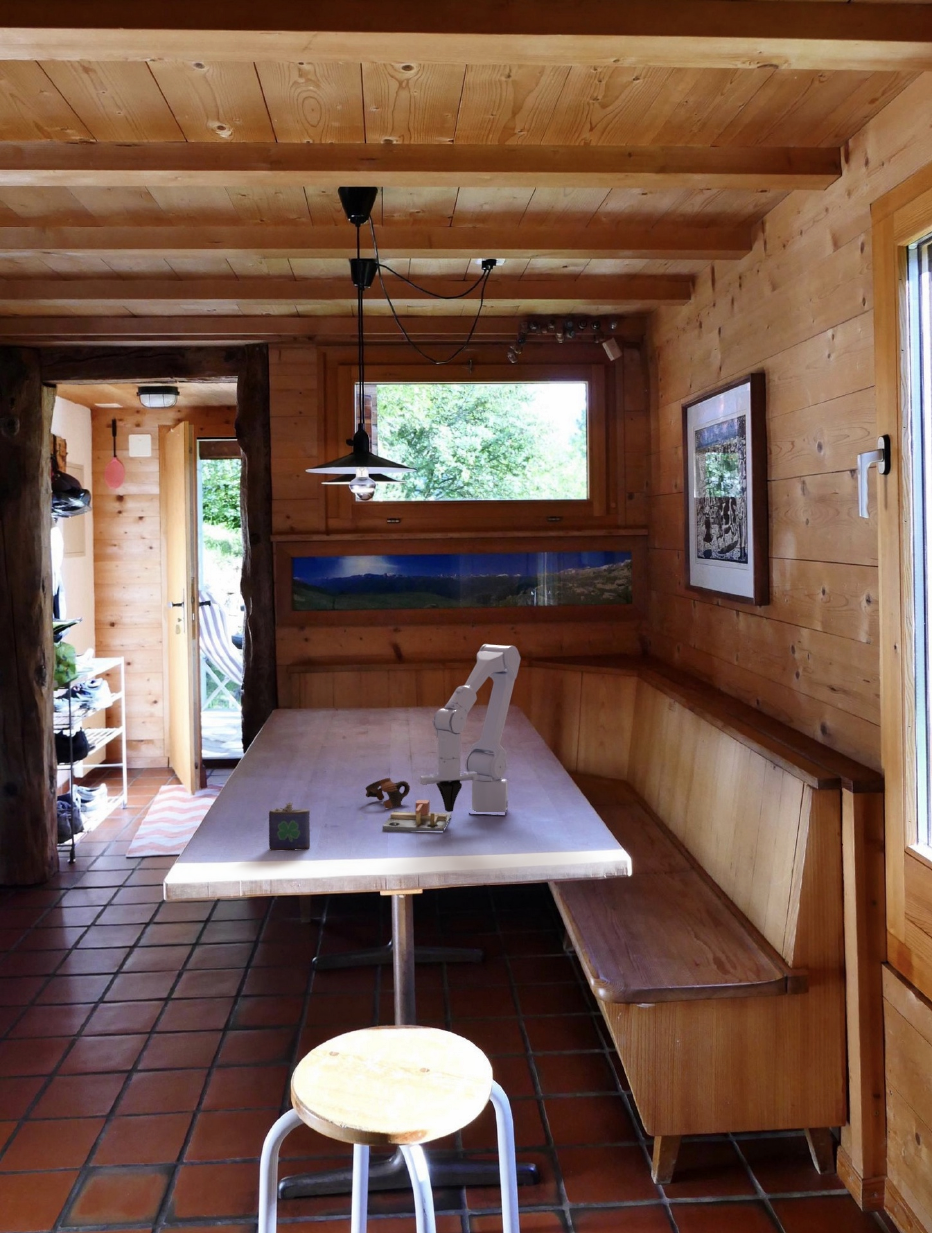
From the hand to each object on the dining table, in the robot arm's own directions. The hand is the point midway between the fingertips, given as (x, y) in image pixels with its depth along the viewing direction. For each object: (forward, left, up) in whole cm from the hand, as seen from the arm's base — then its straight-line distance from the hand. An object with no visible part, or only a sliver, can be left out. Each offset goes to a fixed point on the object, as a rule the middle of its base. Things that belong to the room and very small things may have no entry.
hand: (448, 810), depth 237 cm
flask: (+33, +25, -4) cm, 42 cm away
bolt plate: (+8, +1, -3) cm, 8 cm away
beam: (+8, +3, -2) cm, 8 cm away
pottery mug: (+19, -17, -4) cm, 26 cm away
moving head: (+7, +3, -2) cm, 8 cm away
